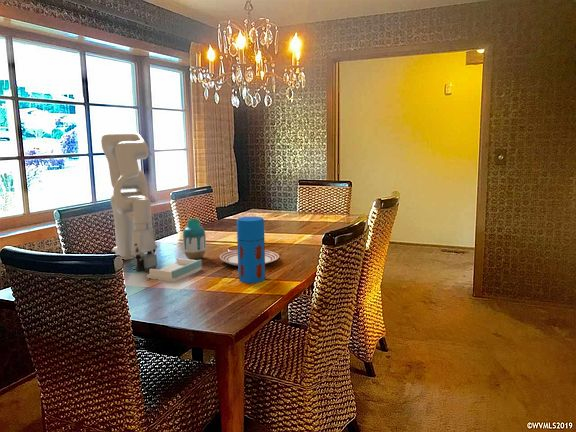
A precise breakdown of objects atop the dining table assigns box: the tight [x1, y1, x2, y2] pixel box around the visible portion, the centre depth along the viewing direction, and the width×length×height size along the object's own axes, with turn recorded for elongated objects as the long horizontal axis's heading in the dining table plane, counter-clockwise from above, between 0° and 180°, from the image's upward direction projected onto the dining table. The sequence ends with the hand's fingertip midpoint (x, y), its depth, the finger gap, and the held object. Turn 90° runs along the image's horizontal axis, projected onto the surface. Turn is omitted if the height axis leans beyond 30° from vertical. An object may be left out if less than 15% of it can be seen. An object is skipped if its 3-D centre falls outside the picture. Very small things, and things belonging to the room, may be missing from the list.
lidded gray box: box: [133, 253, 158, 273], centre depth 201 cm, size 8×6×9 cm
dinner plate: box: [219, 249, 280, 267], centre depth 213 cm, size 28×27×3 cm
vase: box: [182, 217, 207, 260], centre depth 218 cm, size 11×11×19 cm
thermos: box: [236, 216, 266, 284], centre depth 185 cm, size 11×11×25 cm
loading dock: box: [146, 257, 203, 283], centre depth 195 cm, size 14×19×4 cm
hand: (145, 266), depth 202 cm, fingers closed on lidded gray box, 5 cm apart
